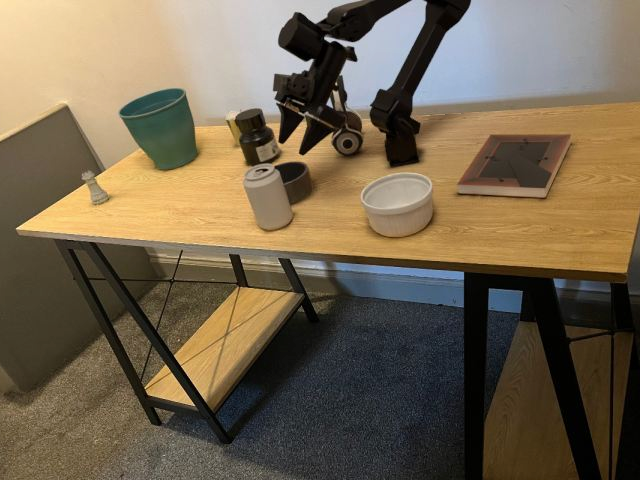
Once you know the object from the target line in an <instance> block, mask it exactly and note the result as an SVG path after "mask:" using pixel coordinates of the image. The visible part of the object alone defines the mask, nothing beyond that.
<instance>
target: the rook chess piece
mask: <svg viewBox="0 0 640 480" xmlns="http://www.w3.org/2000/svg"><path fill="white" fill-rule="evenodd" d="M81 180H83V181H84V182H85V185H86V186H87V187H88V190H89V193H90V194H89V195H90V200H91V201H92V202H91V203H92V204H94V205H102V204H105V203H106V202H107V201H108V200H109V198H110V195H109V194H108V192H107V191H106V190H104V189H103V188H102V187H101V186H100V184H99V183H98V181H97V178H95V172H93V171H92V170H87V171H83V172H82V173H81Z"/></svg>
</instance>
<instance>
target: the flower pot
mask: <svg viewBox="0 0 640 480" xmlns="http://www.w3.org/2000/svg"><path fill="white" fill-rule="evenodd" d="M117 114H118V117H119V118H120V119H121V120H122V122H123V123H124V125H125V127H126V128H127V130H128V132H129V133H130V136H131V137H132V139H133V140H134V141H135V143H136V144H137V146H138V147H139V148H140V150H142V151H143V152H144V153H145V154H146V155H147V156H148V158H149V159H150V160H151V161H152V163H154V165H155V167H156V168H157V169H159V170H163V171H167V170H173V169H178V168H180V167H183V166H185V165H187V164H189V163H190V162H192V161H193V160H195V158H197V156H198V154H199V150H198V149H197V148H198V147H197V141H196V140H197V139H196V125H195V121H194V117H193V113H192V110H191V107H190V104H189V100H188V96H187V92H186V89H184V88H181V87H172V88H165V89H159V90H156V91H153V92H149V93H147V94H144V95H142V96H139V97H137V98H135V99H133V100H130V101H129V102H128V103H126V104H125V105H123V106H122V107H121V108H120V109H119V110H118V112H117Z"/></svg>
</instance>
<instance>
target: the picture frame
mask: <svg viewBox="0 0 640 480" xmlns="http://www.w3.org/2000/svg"><path fill="white" fill-rule="evenodd" d="M571 143H572V134H570V133H569V134H565V133H563V134H559V133H558V134H550V133H549V134H548V133H547V134H545V133H544V134H541V133H540V134H539V133H538V134H536V133H535V134H525V133H524V134H490V135H489V136H488V137H487V139H486V141H484V144H483V145H482V146H481V148H480V149H479V151H478V153H477V154H476V156H475V157H474V158H473V160H472V161H471V163H470V164H469V166H468V167H467V168H466V170H465V172H464V173H463V175H461V178H460V179H459V180H458V182H457V183H456V188H457V189H456V190H457V193H458V194H459V195H460V194H461V195H482V196H498V197H500V196H502V197H503V196H504V197H517V198H518V197H520V198H535V199H536V198H537V199H538V198H540V199H545V198H546V197H547V195H548V193H549V191H550V188H551V186H552V184H553V182H554V181H555V178H556V176H557V173H558V171H559V169H560V167H561V165H562V163H563V160H564V158H565V156H566V155H567V152H568V150H569V148H570V146H571Z"/></svg>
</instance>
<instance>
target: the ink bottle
mask: <svg viewBox="0 0 640 480" xmlns="http://www.w3.org/2000/svg"><path fill="white" fill-rule="evenodd" d="M235 119H236V122H237V125H238V128H239V130H240V132H241V136H240V138H239V143H240V146H239V147H240V149H241V152H242V154H243V157H244V160H245V163H246V164H247V165H248V166H251V167H254V166H256V165H260V164H271V163H272V162H273V161H275V160H277V159H278V158H279V156H280V154H281V152H280V151H281V150H280V147H279V145H278V140H277V139H276V135H275V132H274V130H273V129H272V128H271V127H269V126H268V125H267V121H266V118H265V115H264V111H263V109H262V108H259V107H258V108H257V107H255V108H249V109H245V110H244V111H243V110H242V111H241V113H239V114H238V115H237V116H236V117H235Z"/></svg>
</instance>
